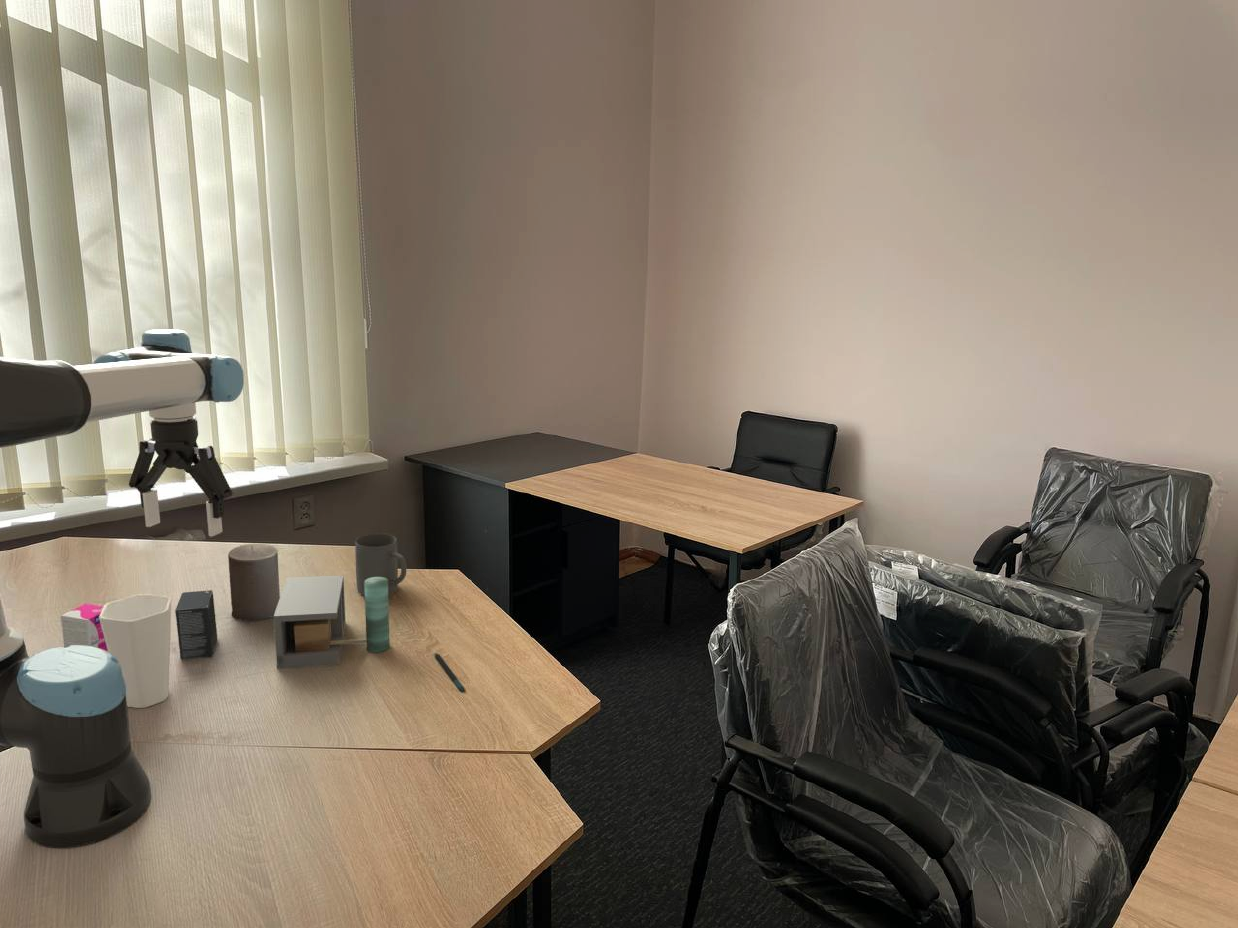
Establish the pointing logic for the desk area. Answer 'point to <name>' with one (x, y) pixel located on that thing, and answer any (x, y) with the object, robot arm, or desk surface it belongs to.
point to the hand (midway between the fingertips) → (184, 529)
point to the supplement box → (83, 627)
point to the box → (196, 624)
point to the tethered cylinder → (377, 623)
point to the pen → (449, 673)
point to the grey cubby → (309, 618)
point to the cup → (140, 645)
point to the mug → (378, 560)
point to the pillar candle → (254, 581)
